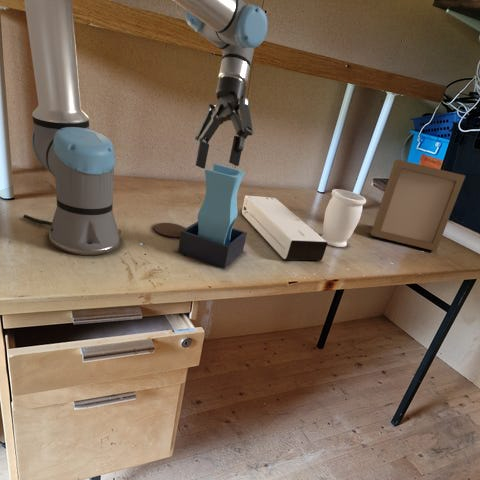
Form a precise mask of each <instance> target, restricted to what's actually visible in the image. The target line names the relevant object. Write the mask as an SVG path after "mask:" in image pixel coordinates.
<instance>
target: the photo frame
mask: <svg viewBox="0 0 480 480" xmlns="http://www.w3.org/2000/svg"><path fill="white" fill-rule="evenodd" d="M465 179H466V175H464V174H460V173H456V172H452V171H448V170H443V169H439V168H436V167H431V166H427V165H423V164H418V163H415V162H412V161H411V162H410V161H406V160H402V159H395V160H394V162H393V165H392V168H391V171H390V175H389V177H388V181H387V183H386V187H385V190H384V192H383V195H382V199H381V201H380V205H379V208H378V211H377V212H376V213H377V214H376V215H375V218H374V219H375V220H374V222H373V225H372V229H371V231H370V235H371V236H373V237H377V238H380V239H385V240H388V241H393V242H396V243H400V244H405V245H409V246H413V247H418V248H422V249H426V250H430V251H433V252H437V250H438V248H439V245H440V243H441V241H442V238H443V235H444V232H445V230H446V228H447V225H448V222H449V220H450V218H451V217H450V216H451V214H452V212H453V209H454V207H455V204H456V202H457V199H458V196H459V193H460V191H461V189H462V186H463V183H464V182H465Z"/></svg>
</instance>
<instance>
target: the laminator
mask: <svg viewBox="0 0 480 480" xmlns="http://www.w3.org/2000/svg"><path fill="white" fill-rule="evenodd" d="M241 215H242V216H243V217H244V219H245V220H246V221H247V222H248V223H249V224H250V225H251V226H252V227H253V228H254V230H256V232H257V233H258V234H259V235H260V236H261V237H262V238H263V239H264V240H265V241H266V243H267V244H268V245H269V246H270V247H271V248H272V249H273V250H274V251H275V252H276V253H277V254H278V255H279V257H280V258H281V259H282V260H284V261H318V262H320V261H322V260H323V258H324V255H325V254H326V253H325V252H326V249H327V247H328V245H329V244H328V243H327V242H326V241H325V240H324V239H323V238H322V237H321V235H319V234H318V233H317V232H316V231H314V230H313V228H311V227H310V226H309V225H308V224H306V222H304V221H303V220H302V219H301V218H300V217H298V216H297V215H296V214H295V213H294V212H292V211H291V210H290V209H289V208H288V207H287V206H285V205H284V204H283V202H281V201H280V200H278V199H277V198H276V197H270V196H260V195H259V196H258V195H248V194H246V195H244V197H243V203H242V207H241Z"/></svg>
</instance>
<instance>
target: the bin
mask: <svg viewBox="0 0 480 480" xmlns="http://www.w3.org/2000/svg"><path fill="white" fill-rule="evenodd" d="M184 228H185V229H184V230H182V231H181V234H180V238H179V243H178V251H177V252H178V253H180V254H182V255H185V256H188V257H191V258H194V259H196V260H199V261H202V262H205V263H208V264H210V265H214V266H216V267H219V268H222V269H226V268H227V267H228V266H229V265H230V264H232V263H233V262H234V261H235V260H236V259H237V258H238V257H240V255H241V254H242V253H243V252H244V249H245V245H246V239H247V235H248V232H246V231H243V230H240V229H237V228H234V227H233V228H232V231H231V236H230V244H229V245H227V246H226V245H223V244H221V243H218V242H215V241H212V240H209V239H206V238H203V237H200V236H198V232H199V229H198V220H197V221H195V222H194V223H192V224H191V225H189V226H187V227H184Z"/></svg>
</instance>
